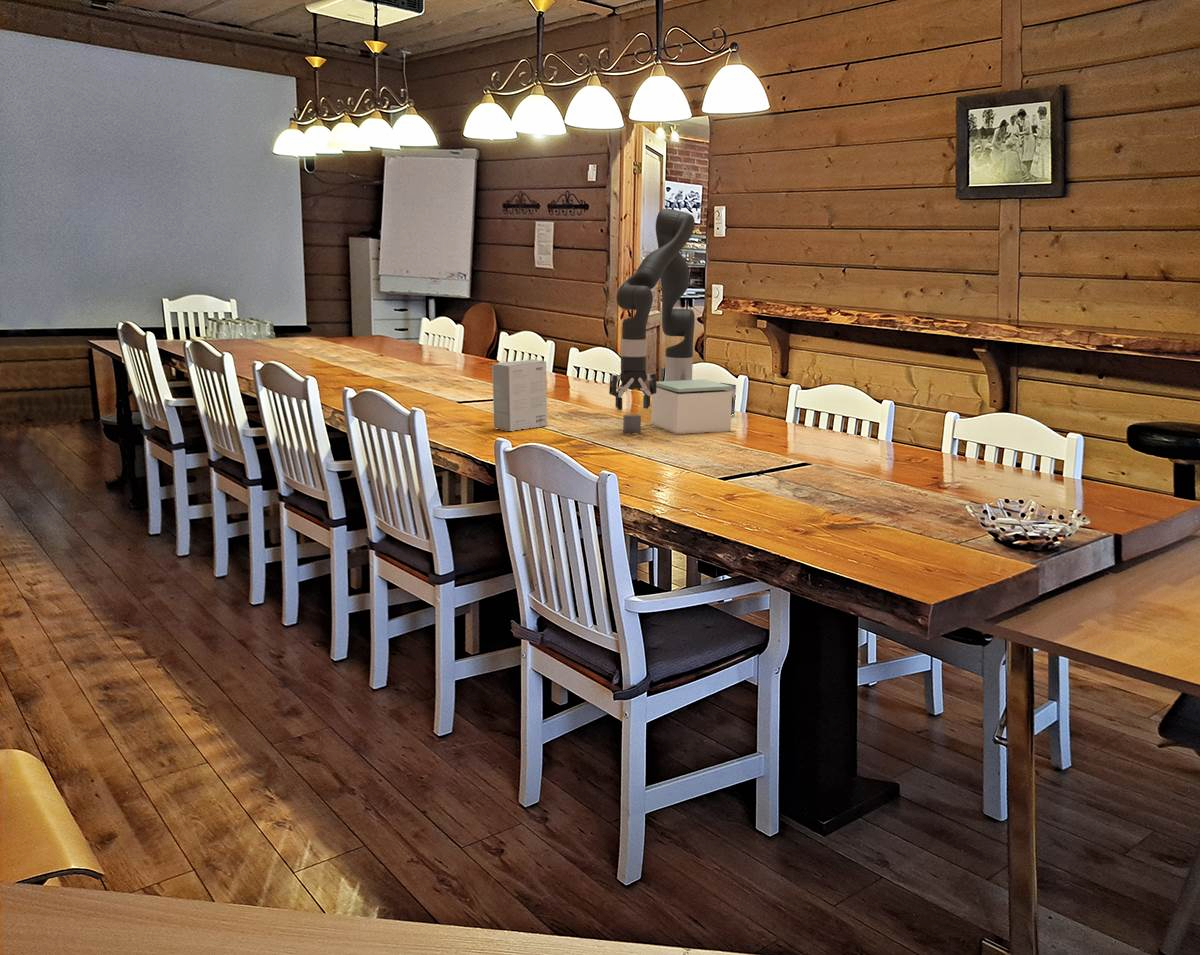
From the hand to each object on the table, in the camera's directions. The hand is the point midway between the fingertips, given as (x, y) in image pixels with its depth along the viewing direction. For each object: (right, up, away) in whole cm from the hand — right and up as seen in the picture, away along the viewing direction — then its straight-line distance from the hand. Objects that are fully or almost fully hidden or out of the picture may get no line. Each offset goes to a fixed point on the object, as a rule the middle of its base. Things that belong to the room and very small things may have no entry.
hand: (632, 409), depth 314 cm
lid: (+18, +7, +7) cm, 21 cm away
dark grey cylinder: (0, -7, +2) cm, 7 cm away
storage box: (+18, -5, +10) cm, 21 cm away
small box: (+29, -1, +30) cm, 42 cm away
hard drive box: (-34, -5, +7) cm, 35 cm away
